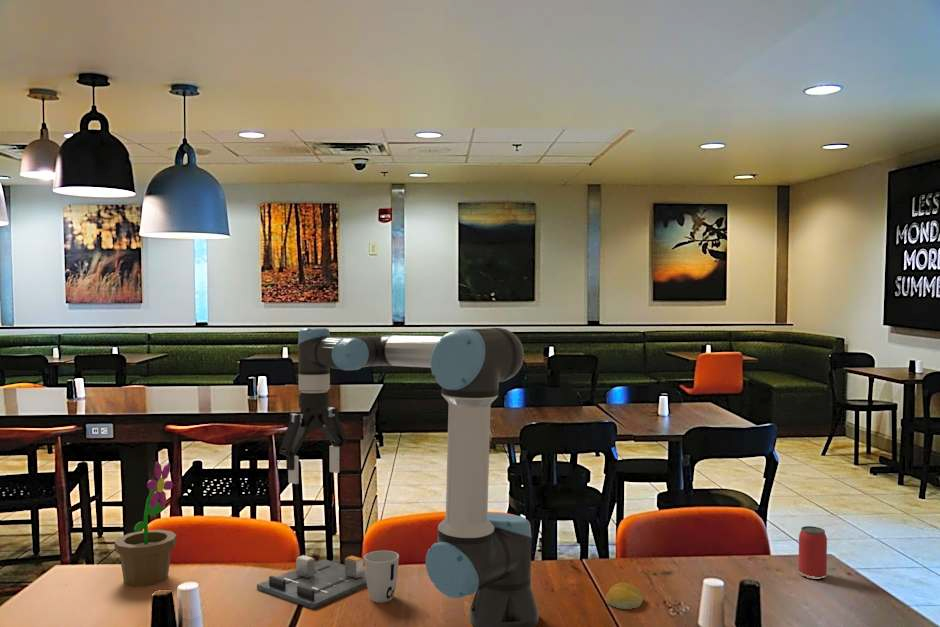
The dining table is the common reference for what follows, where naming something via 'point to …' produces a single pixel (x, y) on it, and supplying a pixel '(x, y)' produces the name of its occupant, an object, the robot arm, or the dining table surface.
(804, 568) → the beer can
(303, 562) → the far fader
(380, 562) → the cup
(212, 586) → the dining table surface
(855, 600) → the dining table surface
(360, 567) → the near fader
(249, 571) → the dining table surface
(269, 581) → the console
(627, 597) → the bread roll
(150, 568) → the flowerpot
